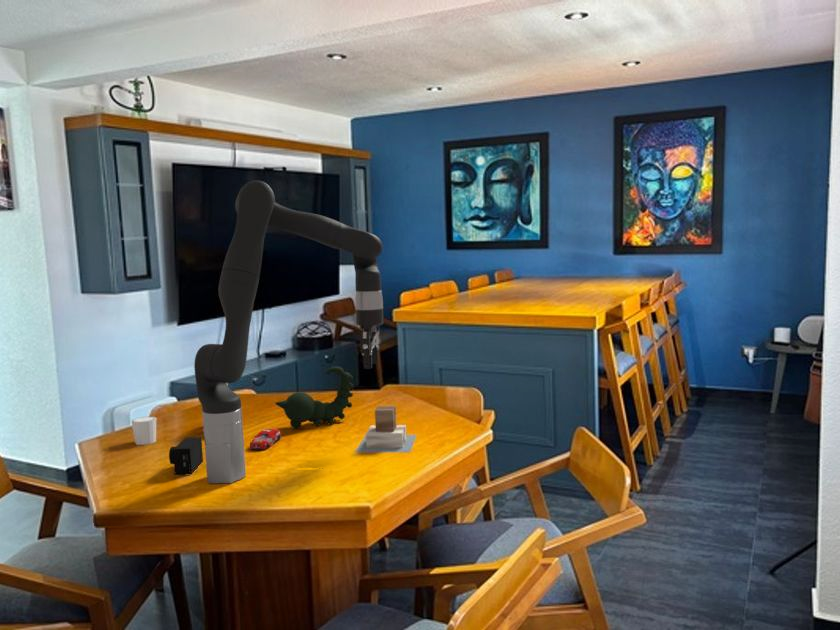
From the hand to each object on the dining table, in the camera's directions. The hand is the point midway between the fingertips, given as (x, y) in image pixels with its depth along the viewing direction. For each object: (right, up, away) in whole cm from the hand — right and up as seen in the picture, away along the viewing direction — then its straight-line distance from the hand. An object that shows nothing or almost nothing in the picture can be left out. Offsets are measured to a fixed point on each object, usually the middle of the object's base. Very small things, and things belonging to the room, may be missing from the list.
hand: (371, 366), depth 191 cm
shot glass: (-68, -24, +15) cm, 73 cm away
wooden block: (+4, -22, +2) cm, 22 cm away
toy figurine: (-19, -21, +27) cm, 39 cm away
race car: (-31, -23, +8) cm, 40 cm away
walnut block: (+4, -18, +2) cm, 18 cm away
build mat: (+4, -22, +2) cm, 23 cm away
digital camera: (-47, -26, -11) cm, 55 cm away
